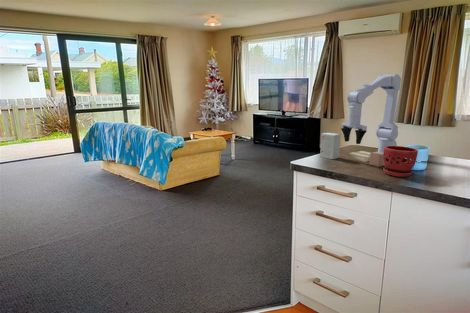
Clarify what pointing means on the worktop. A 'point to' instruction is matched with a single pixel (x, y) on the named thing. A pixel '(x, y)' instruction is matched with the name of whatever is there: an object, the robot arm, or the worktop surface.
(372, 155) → the clay block
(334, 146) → the small box
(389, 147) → the plant pot
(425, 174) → the worktop surface
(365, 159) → the beige shallow dish
